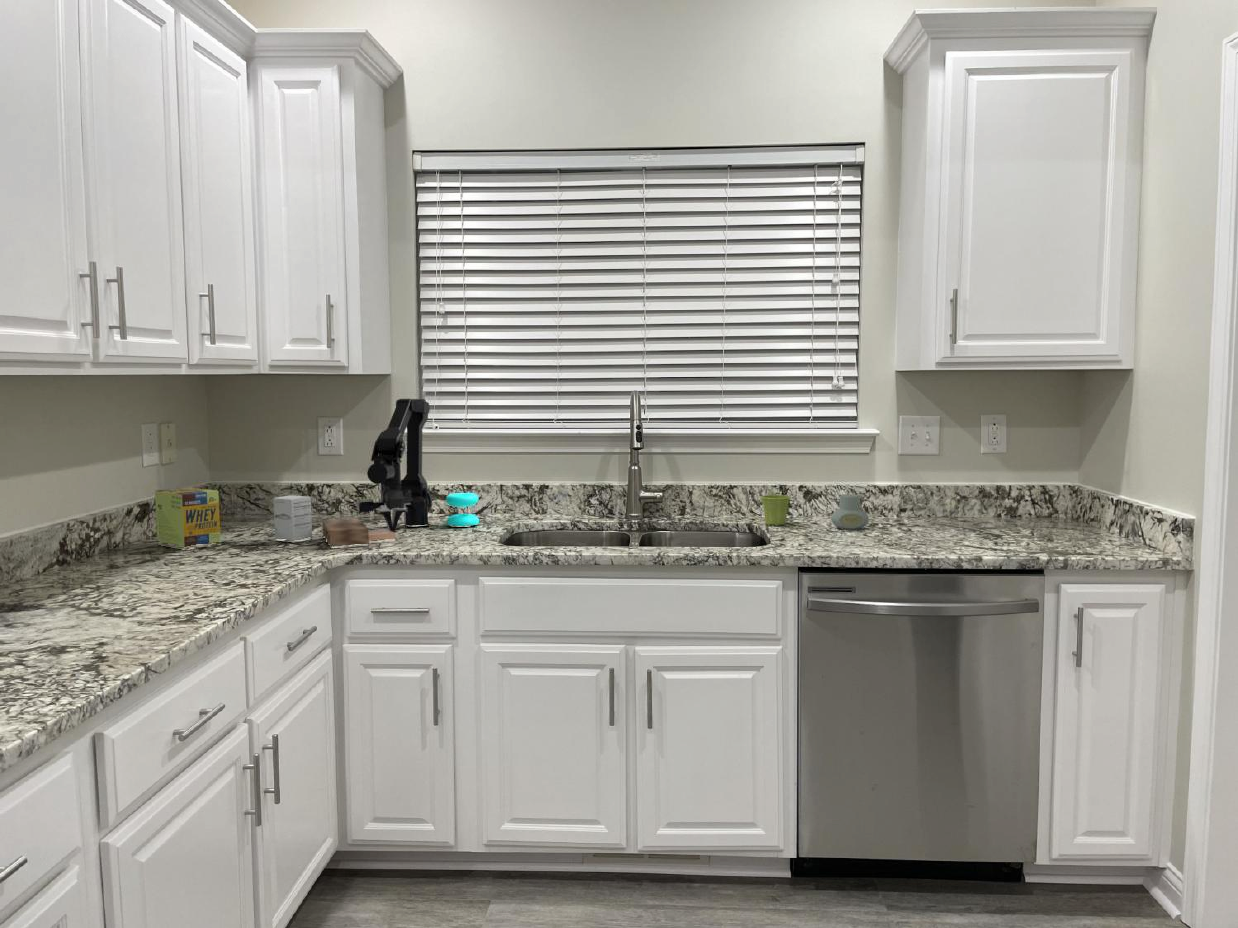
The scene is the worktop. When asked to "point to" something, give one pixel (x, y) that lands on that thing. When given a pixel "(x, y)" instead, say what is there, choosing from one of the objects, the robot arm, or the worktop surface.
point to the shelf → (345, 532)
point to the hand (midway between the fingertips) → (392, 534)
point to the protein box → (187, 516)
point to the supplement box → (292, 517)
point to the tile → (381, 534)
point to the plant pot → (775, 508)
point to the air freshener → (849, 513)
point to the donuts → (462, 501)
